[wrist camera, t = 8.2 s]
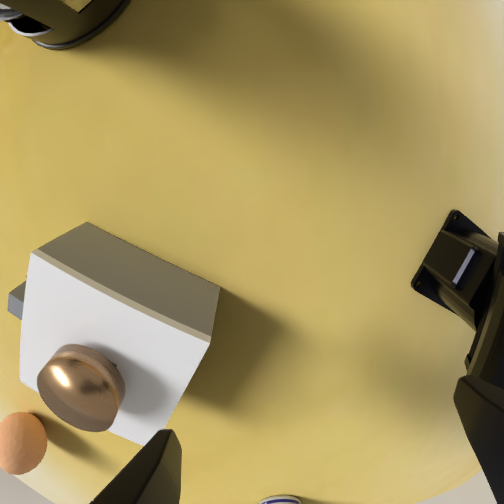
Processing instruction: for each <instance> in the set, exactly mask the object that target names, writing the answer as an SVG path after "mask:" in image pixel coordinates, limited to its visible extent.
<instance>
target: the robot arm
mask: <svg viewBox="0 0 504 504" xmlns="http://www.w3.org/2000/svg"><path fill="white" fill-rule="evenodd" d="M455 215H456V216H457V217H456V219H455V220H454V216H455ZM498 242H499V243H498ZM498 242H496V241H494V240H492V239H491V238H490V237H489V236H488V235H487V234H486V233H484V232H483V231H482V230H481V229H480V228H479V227H478V226H477V225H475V224H474V223H473V222H472V221H471V220H470V219H468V218H467V217H466V216H465V215H464V214H462V213H461V212H460V211H458V210H455V209H454V210H452V211H451V212H450V213H449V215H448V217H447V219H446V221H445V223H444V225H443V227H442V228H441V230H440V232H439V233H438V235H437V237H436V239H435V241H434V242H433V244H432V246H431V248H430V250H429V251H428V253H427V255H426V257H425V258H424V260H423V262H422V264H421V266H420V268H419V269H418V271H417V273H416V274H415V276H414V278H413V279H412V281H411V287H412V288H413V289H414V290H415V291H417V292H418V293H420V294H422V295H424V296H425V297H427V298H429V299H431V300H432V301H434V302H436V303H438V304H439V305H441V306H443V307H445V308H446V309H448V310H450V311H451V312H453V313H455V314H457V315H458V316H460V317H461V318H462V319H463V320H464V321H465V322H466V323H467V324H468V325H469V326H470V327H471V328H472V329H474V330H475V331H476V335H475V338H474V340H473V343H472V346H471V349H470V352H469V354H467V356H466V359H465V361H464V363H465V366H466V369H467V375H466V376H463V377H461V378H459V380H458V382H457V386H456V389H455V392H454V397H453V398H454V403H455V406H456V408H457V411H458V414H459V416H460V419H461V422H462V424H463V427H464V430H465V433H466V435H467V438H468V440H469V442H470V444H471V446H472V448H473V450H474V452H475V454H476V456H477V459H478V461H479V463H480V465H481V467H482V469H483V472H484V474H485V476H486V478H487V480H488V483H489V485H490V487H491V490H492V492H493V494H494V497H495V499H496V501H497V504H504V232H499V235H498ZM419 281H420V283H419V285H417V286H416V284H417V283H418V282H419ZM181 458H182V449H181V445H180V443H179V441H178V439H177V436H176V434H175V432H174V431H173V430H172V429H160V430H158V431H157V432H156V434H155V435H154V436H153V437H152V438H151V439H150V440H149V441H148V442H147V443H146V445H145V446H144V447H143V448H142V449H141V450H140V451H139V452H138V453H137V454H136V455H135V456H134V458H133V459H132V460H131V461H130V462H129V463H128V464H127V465H126V466H125V467H124V468H123V469H122V470H121V471H120V472H119V474H118V475H117V476H116V477H115V478H114V479H113V480H112V481H111V482H110V483H109V484H108V485H107V486H106V487H105V488H104V489H103V490H102V491H101V492H100V493H99V494H98V495H97V496H96V497H95V498H94V501H91V502H90V503H89V504H179V500H180V492H181Z"/></svg>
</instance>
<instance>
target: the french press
mask: <svg viewBox="0 0 504 504" xmlns="http://www.w3.org/2000/svg"><path fill="white" fill-rule="evenodd" d="M130 1H131V0H91V2H90V3H89V4H87V5H86V6H85V7H84V8H83V9H82V10H80V11H79V12H77V11H75V10H74V9H72V8H71V7H69V6H68V5H66V4H65V3H64V2H62V1H61V0H0V21H5V22H8V24H9V25H10V27H11V29H12V30H14V31H15V32H16V33H17V34H20V35H23V36H25V37H28V38H30V39H32V40H33V41H34V42H35V43H36V44H37V45H39V46H42V47H44V48H47V49H54V50H59V49H67V48H71V47H74V46H77V45H80V44H82V43H84V42H86V41H88V40H90V39H92V38H93V37H95V36H96V35H98V34H99V33H101V32H102V31H103V30H105V29H106V28H107V27H108V26H109V25H111V24H112V23H113V22H114V21H115V20H116V19H117V18H118V17H119V16H120V14H121V13H122V12H123V11H124V10H125V8H126V7H127V5H128V4H129V3H130ZM42 23H43V24H45V25H47V26H49V27H51V28H52V29H49V30H47V29H46V28H45V27H44V26H43V25H42Z"/></svg>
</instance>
